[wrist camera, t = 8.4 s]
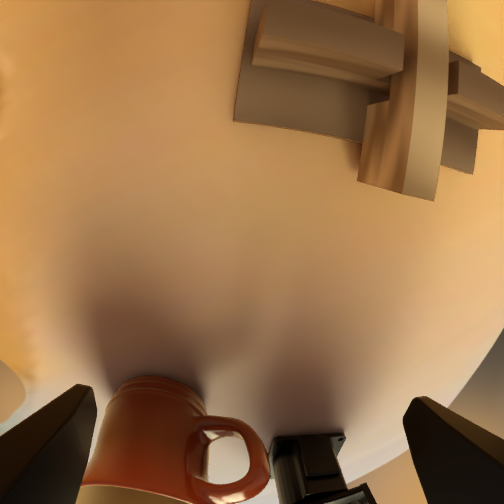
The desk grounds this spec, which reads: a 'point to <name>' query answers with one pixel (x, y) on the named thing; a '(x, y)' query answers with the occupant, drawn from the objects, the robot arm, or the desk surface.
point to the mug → (165, 449)
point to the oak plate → (410, 103)
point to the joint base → (347, 77)
